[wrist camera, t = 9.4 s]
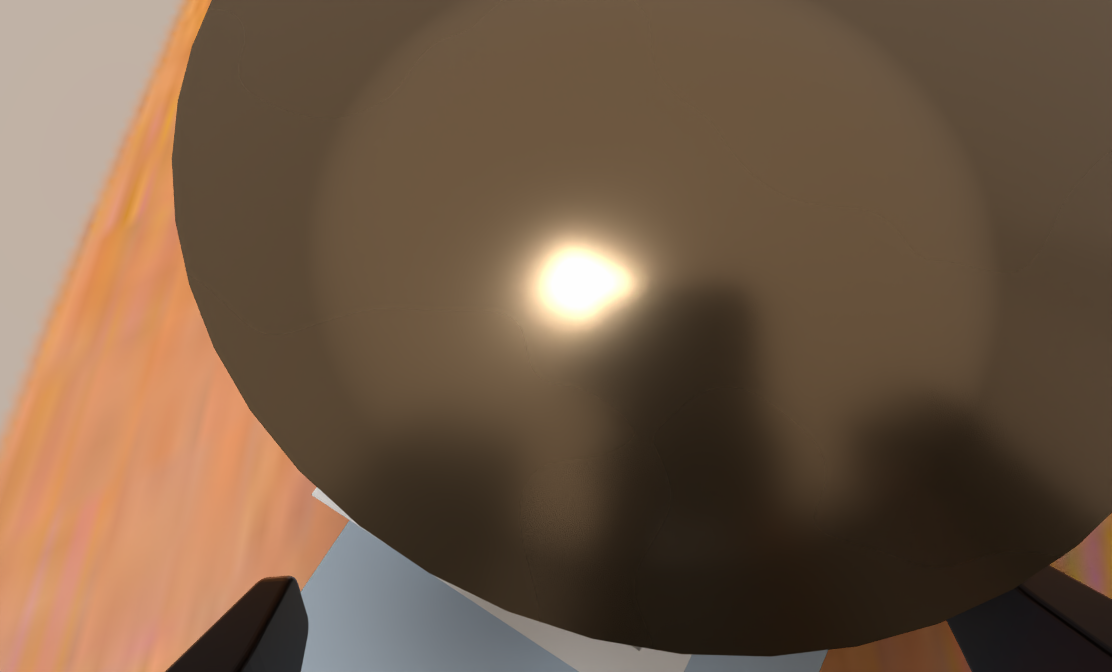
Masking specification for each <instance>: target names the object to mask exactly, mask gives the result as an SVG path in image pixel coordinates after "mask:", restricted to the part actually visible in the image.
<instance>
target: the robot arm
mask: <svg viewBox="0 0 1112 672" xmlns="http://www.w3.org/2000/svg"><path fill="white" fill-rule="evenodd" d="M947 622H948V624H949V626H950V628H951V630H952V632H953V634H954V636H955V638H956V640H957V642H958V644H959V646H960V648H961V650H962V652H963V654H964V656H965V658H966V661H967V663H968V665H969V667H970V669H971V671H972V672H1112V599H1110V598H1108V597H1107V596H1105V595H1103V594H1101V593H1099V592H1097V591H1096V590H1094V589H1092V588H1090V587H1088V586H1086V585H1085V584H1083V583H1081V582H1079V581H1077V580H1075V579H1074V578H1072V577H1070V576H1068V575H1066V574H1064V573H1063V572H1061V571H1059V570H1057V569H1055V568H1053V567H1051V566H1050V565H1048V566H1047V567H1045V568H1044V569H1042V570H1041V571H1039V572H1038V573H1036V574H1035V575H1033V576H1032V577H1030V578H1029V579H1027V580H1026V581H1025V582H1023V583H1022V584H1020V585H1019V586H1017V587H1016V588H1014V589H1013V590H1010V591H1008V592H1006V593H1004V594H1002V595H1000V596H997V597H995V598H993V599H991V600H989V601H986V602H984V603H982V604H980V605H978V606H976V607H973V608H971V609H969V610H967V611H965V612H963V613H960V614H958V615H956V616H954V617H952V618H950V619H947ZM308 629H309V622H308V616H307V612H306V609H305V606H304V602H303V599H302V596H301V592H300V589H299V586H298V583H297V581H296V579H295V578H294V577H292V576H280V577H267V578H264V579H262V580H260V581H258V582H257V583H256V584H255V585H254V586H253V587H252V588H251V589H250V590H249V591H248V592H247V593H246V594H245V595H244V596H243V597H242V598H241V599H240V600H239V601H238V602H236V603H235V604H234V605H233V606H232V607H231V608H230V609H229V610H228V611H227V612H226V613H225V614H224V615H223V616H222V617H221V618H220V619H219V620H218V621H217V622H216V623H215V624H214V625H213V626H212V627H211V628H210V629H209V630H208V631H207V632H206V633H204V634H203V635H202V636H201V637H200V638H199V639H198V640H197V641H196V642H195V643H194V644H193V645H192V646H191V647H190V648H189V649H188V650H187V651H186V652H185V653H184V654H183V655H182V656H181V657H180V658H179V659H178V660H177V661H176V662H175V663H173V664H172V665H171V666H170V667H169V668H168V669H167V670H166V671H165V672H301V669H302V664H303V659H304V653H305V648H306V643H307V638H308Z"/></svg>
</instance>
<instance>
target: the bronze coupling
mask: <svg viewBox="0 0 1112 672" xmlns="http://www.w3.org/2000/svg"><path fill="white" fill-rule="evenodd" d="M172 169H173V187H174V205H175V221H176V226H177V230H178V235H179V240H180V244H181V249H182V253H183V258H184V263H185V267H186V272H187V276H188V281H189V285H190V287H191V290H192V293H193V295H194V298H195V300H196V303H197V305H198V308H199V310H200V313H201V316H202V318H203V321H204V323H205V326H206V328H207V331H208V334H209V336H210V339H211V341H212V344H213V346H214V349H215V350H216V352H217V354H218V355H219V357H220V359H221V361H222V362H223V364H224V366H225V367H226V369H227V371H228V373H229V374H230V376H231V378H232V379H233V381H234V383H235V385H236V386H237V388H238V390H239V391H240V393H241V395H242V397H243V398H244V400H245V402H246V403H247V405H248V407H249V409H250V410H251V412H252V413H253V414H254V415H255V417H256V418H257V419H258V420H259V422H260V423H261V424H262V425H263V427H264V428H265V429H266V430H267V431H268V433H269V434H270V435H271V436H272V438H273V439H274V440H275V441H276V443H277V444H278V445H279V446H280V448H281V449H282V450H283V451H284V453H285V454H286V455H287V456H288V457H289V459H290V460H291V461H292V462H293V464H294V465H295V466H296V467H297V469H298V470H299V471H300V472H301V473H302V474H303V475H304V476H306V477H307V478H308V479H309V480H310V481H311V482H312V483H313V484H314V485H315V486H316V487H318V488H319V489H320V490H321V491H322V492H323V493H324V494H325V495H326V496H327V497H328V498H330V499H331V500H332V501H333V502H334V503H335V504H336V505H337V506H338V507H339V508H340V509H342V510H343V511H344V512H345V513H346V514H347V515H348V516H349V517H350V518H351V519H352V520H354V521H355V522H356V523H357V524H358V525H359V526H360V527H362V528H363V529H365V530H366V531H368V532H369V533H371V534H372V535H374V536H375V537H377V538H378V539H380V540H381V541H383V542H384V543H385V544H387V545H388V546H390V547H391V548H393V549H394V550H396V551H397V552H399V553H400V554H402V555H403V556H405V557H406V558H408V559H409V560H410V561H412V562H413V563H415V564H416V565H418V566H419V567H421V568H422V569H424V570H425V571H427V572H428V573H430V574H432V575H434V576H436V577H438V578H440V579H442V580H444V581H446V582H448V583H450V584H452V585H454V586H457V587H459V588H461V589H463V590H465V591H467V592H469V593H471V594H473V595H475V596H477V597H479V598H481V599H483V600H485V601H487V602H489V603H491V604H493V605H495V606H497V607H499V608H502V609H504V610H506V611H508V612H511V613H514V614H517V615H520V616H523V617H526V618H529V619H533V620H536V621H539V622H542V623H545V624H548V625H551V626H554V627H557V628H560V629H563V630H567V631H570V632H573V633H576V634H579V635H582V636H585V637H588V638H591V639H596V640H602V641H608V642H613V643H619V644H625V645H631V646H636V647H642V648H648V649H654V650H660V651H665V652H671V653H677V654H691V655H728V656H766V657H772V656H780V655H788V654H797V653H805V652H813V651H821V650H830V649H838V648H846V647H854V646H860V645H863V644H867V643H870V642H874V641H878V640H881V639H885V638H888V637H892V636H895V635H899V634H903V633H906V632H910V631H913V630H917V629H921V628H924V627H928V626H931V625H935V624H938V623H941V622H943V621H945V620H947V619H950V618H952V617H954V616H956V615H958V614H960V613H963V612H965V611H967V610H969V609H971V608H973V607H976V606H978V605H980V604H982V603H984V602H986V601H989V600H991V599H993V598H995V597H997V596H1000V595H1002V594H1004V593H1006V592H1008V591H1010V590H1013V589H1014V588H1016V587H1017V586H1019V585H1020V584H1022V583H1023V582H1025V581H1026V580H1027V579H1029V578H1030V577H1032V576H1033V575H1035V574H1036V573H1038V572H1039V571H1041V570H1042V569H1044V568H1045V567H1047V566H1048V565H1050V564H1051V563H1053V562H1054V561H1055V560H1057V559H1058V558H1060V557H1061V556H1063V555H1064V554H1066V553H1067V552H1069V551H1070V550H1072V549H1073V548H1075V547H1076V546H1077V545H1078V544H1079V543H1081V542H1082V541H1083V540H1084V539H1085V538H1086V537H1087V536H1088V535H1089V534H1090V533H1091V532H1092V531H1093V530H1094V529H1095V528H1096V527H1097V526H1098V525H1099V524H1100V523H1101V522H1102V521H1103V520H1104V519H1105V518H1106V517H1108V516H1109V515H1110V514H1111V513H1112V0H212V1H211V4H210V6H209V8H208V11H207V13H206V15H205V18H204V20H203V22H202V25H201V27H200V29H199V32H198V34H197V36H196V39H195V41H194V43H193V46H192V49H191V53H190V57H189V61H188V64H187V68H186V72H185V76H184V80H183V83H182V87H181V91H180V95H179V99H178V105H177V115H176V125H175V135H174V144H173V154H172Z"/></svg>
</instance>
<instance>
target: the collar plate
mask: <svg viewBox="0 0 1112 672" xmlns="http://www.w3.org/2000/svg"><path fill="white" fill-rule="evenodd" d="M312 496H314V497H315V498H317V499H319V500H320V501H322V502H323V503H325V504H326V505H328V506H329V507H331V508H332V509H334V510H335V511H337V512H338V513H340V514H341V515H343V516H344V517H346V518H347V519H349V522H348V523H347V525H346V526H345V528H344V529H343V531H342V532H341V534H340V535H339V537H338V538H337V540H336V541H335V542H334V544H333V545H332V547H331V548H330V550H329V551H328V553H327V554H326V556H325V557H324V559H323V560H322V562H321V563H320V565H319V566H318V568H317V569H316V570H315V572H314V573H313V575H312V576H311V578H310V579H309V581H308V582H307V584H306V585H305V587H304V588H303V590H302V591H301V596H302V599H303V602H304V606H305V609H306V612H307V616H308V622H309V629H308V638H307V643H306V648H305V653H304V659H303V664H302V669H301V672H819V671H820V669H821V666H822V664H823V661H824V659H825V656H826V654H827V652H828V650H821V651H813V652H805V653H797V654H788V655H780V656H772V657H766V656H728V655H691V654H677V653H671V652H665V651H660V650H654V649H648V648H642V647H636V646H631V645H625V644H619V643H613V642H608V641H602V640H596V639H591V638H588V637H585V636H582V635H579V634H576V633H573V632H570V631H567V630H563V629H560V628H557V627H554V626H551V625H548V624H545V623H542V622H539V621H536V620H533V619H529V618H526V617H523V616H520V615H517V614H514V613H511V612H508V611H506V610H504V609H502V608H499V607H497V606H495V605H493V604H491V603H489V602H487V601H485V600H483V599H481V598H479V597H477V596H475V595H473V594H471V593H469V592H467V591H465V590H463V589H461V588H459V587H457V586H454V585H452V584H450V583H448V582H446V581H444V580H442V579H440V578H438V577H436V576H434V575H432V574H430V573H428V572H427V571H425V570H424V569H422V568H421V567H419V566H418V565H416V564H415V563H413V562H412V561H410V560H409V559H408V558H406V557H405V556H403V555H402V554H400V553H399V552H397V551H396V550H394V549H393V548H391V547H390V546H388V545H387V544H385V543H384V542H383V541H381V540H380V539H378V538H377V537H375V536H374V535H372V534H371V533H369V532H368V531H366V530H365V529H363V528H362V527H360V526H359V525H358V524H357V523H356V522H355V521H354V520H352V519H351V518H350V517H349V516H348V515H347V514H346V513H345V512H344V511H343V510H342V509H340V508H339V507H338V506H337V505H336V504H335V503H334V502H333V501H332V500H331V499H330V498H328V497H327V496H326V495H325V494H324V493H323V492H322V491H321V490H320V489H319V488H318V487H317V488H316V489H315V490H314V492H313V493H312Z"/></svg>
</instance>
